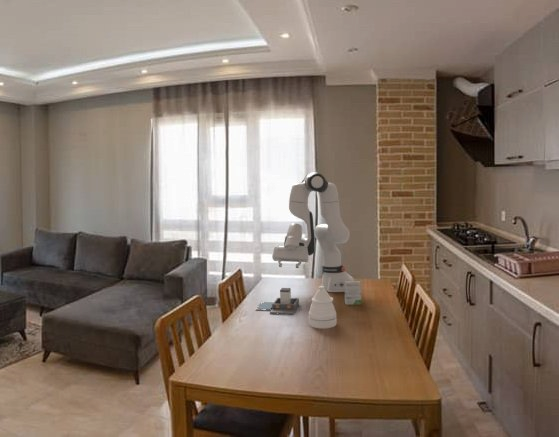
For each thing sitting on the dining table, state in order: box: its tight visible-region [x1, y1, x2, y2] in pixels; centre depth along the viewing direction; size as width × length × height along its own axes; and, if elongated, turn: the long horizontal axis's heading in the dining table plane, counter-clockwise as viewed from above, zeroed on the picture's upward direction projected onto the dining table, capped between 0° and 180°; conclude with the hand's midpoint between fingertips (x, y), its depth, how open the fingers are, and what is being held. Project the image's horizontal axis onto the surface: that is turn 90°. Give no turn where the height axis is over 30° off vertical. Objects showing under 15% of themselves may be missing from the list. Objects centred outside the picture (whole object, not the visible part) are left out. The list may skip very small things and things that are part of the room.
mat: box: [256, 301, 274, 311], centre depth 224 cm, size 8×12×1 cm, turn 167°
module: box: [279, 287, 292, 304], centre depth 221 cm, size 5×5×10 cm
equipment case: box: [269, 297, 300, 316], centre depth 219 cm, size 12×17×4 cm
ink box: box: [344, 280, 362, 306], centre depth 225 cm, size 9×5×12 cm, turn 84°
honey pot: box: [308, 285, 338, 329], centre depth 195 cm, size 13×13×18 cm
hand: (288, 267), depth 232 cm, fingers open, 8 cm apart
